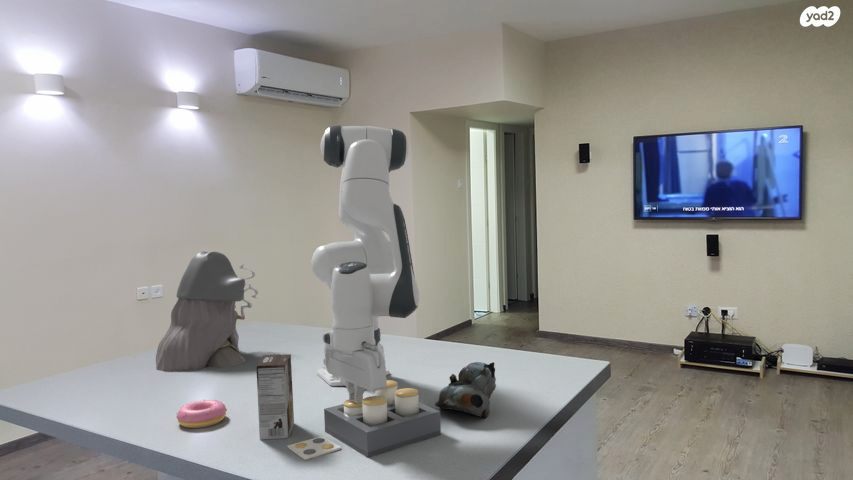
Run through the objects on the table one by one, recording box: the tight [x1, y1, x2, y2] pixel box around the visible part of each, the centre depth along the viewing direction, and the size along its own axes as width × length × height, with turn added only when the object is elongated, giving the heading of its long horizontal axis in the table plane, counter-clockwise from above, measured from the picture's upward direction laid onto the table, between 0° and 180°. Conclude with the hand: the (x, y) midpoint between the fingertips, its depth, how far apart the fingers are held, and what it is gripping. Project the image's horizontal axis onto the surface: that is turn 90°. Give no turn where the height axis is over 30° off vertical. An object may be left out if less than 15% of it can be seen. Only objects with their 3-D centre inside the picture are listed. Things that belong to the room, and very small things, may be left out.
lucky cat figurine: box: [434, 361, 497, 419], centre depth 143 cm, size 15×12×14 cm
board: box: [323, 402, 442, 458], centre depth 132 cm, size 18×18×5 cm
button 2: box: [362, 395, 388, 427], centre depth 126 cm, size 5×5×5 cm
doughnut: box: [176, 399, 228, 429], centre depth 142 cm, size 11×11×4 cm
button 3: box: [374, 379, 399, 407], centre depth 137 cm, size 5×5×5 cm
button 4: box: [395, 387, 420, 418], centre depth 131 cm, size 5×5×5 cm
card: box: [287, 435, 342, 461], centre depth 125 cm, size 8×8×1 cm
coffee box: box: [255, 353, 295, 441], centre depth 134 cm, size 9×6×16 cm
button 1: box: [343, 399, 363, 416], centre depth 132 cm, size 5×5×5 cm
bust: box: [155, 251, 259, 372], centre depth 201 cm, size 34×34×35 cm
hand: (356, 401), depth 132 cm, fingers closed
